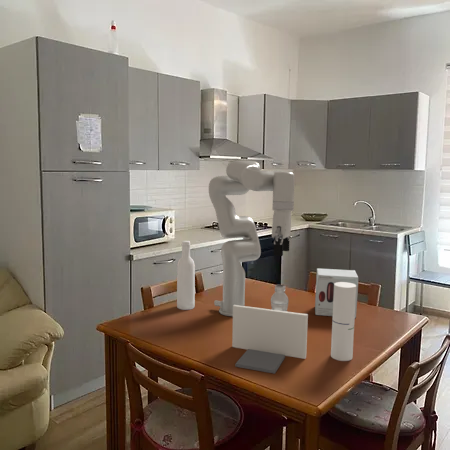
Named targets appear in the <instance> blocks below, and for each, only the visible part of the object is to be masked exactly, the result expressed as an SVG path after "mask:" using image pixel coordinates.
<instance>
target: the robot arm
mask: <svg viewBox="0 0 450 450" xmlns="http://www.w3.org/2000/svg"><path fill="white" fill-rule="evenodd" d="M225 168H226V169H225V171H226V172H225V173H226V175H218V176H215V177H213V178H211V180H210V181H209V183H208V195H209V199H210V201H211V203H212V206H213V208H214V211H215V214H216V219H217V220H216V221H217V224H218V228H219V229H218V230H219V232H220V235H221V236H222V238H224V239H232V240H228V241H226V242H224V243H223V244H222V245H221V247H220V255H221V260H222V300H216V299H215V300H214V303H213V304H214V306H215V307H219V309H218V313H220V315H223V316H226V317H233V306H234V305H240V306H246V305H245V302H246V301H245V300H246V299H245V298H246V297H245V295H246V294H245V293H246V290H245V289H246V271H245V269H244V267H243V265H242V264H241V263H244V262H245V263H246V262H252V261H257V260H258V259H259V258H260V256H261V253H262V250H261V249H262V247H261V244H260V239H259V236H258V232H257V231H258V230H257V228H256V224H255V222H254V219H252V218H251V217H250V216H248V215H237V213H236V208H235V206H234V204H233V202H232V201H231V200H230V199H229V198H228V197H227V196H243V195H246V194H247V193H249V191H253V192H272V209H271V210H272V211H273V214H272V215H273V216H272V224H271V225H272V226H271V238H272V239H273V256H276V257H283V255H284V252H289V251H290V243H291V242H290V236H291V232H292V212H293V211H294V210H295V209H294V208H295V206H294V205H295V204H294V201H295V173H293V172H292V171H281V170H261V166H260V164H259V163H258V162H257V161H255V160H233V161H230V162H229V163H228V165H226V167H225ZM239 238H240V239H239ZM241 238H242V239H241ZM233 239H234V240H233Z"/></svg>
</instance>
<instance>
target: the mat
mask: <svg viewBox="0 0 450 450" xmlns="http://www.w3.org/2000/svg"><path fill="white" fill-rule="evenodd" d="M285 359H286V356H285V355H283V354H276V353H270V352H264V351H258V350H252V349H246V351H245V352H244V353H243V354H242V355H241V357H239V359H238V360H237V361H236V363H235V364H234V365H235V368H241V369H247V370H253V371H259V372H264V373H270V374H276V372H277V371H278V370H279V368H280V366H281V365H282V363H283V362H284V360H285Z"/></svg>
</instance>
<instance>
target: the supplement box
mask: <svg viewBox="0 0 450 450" xmlns="http://www.w3.org/2000/svg"><path fill="white" fill-rule="evenodd" d="M315 276H316V280H315V281H316V283H315V302H314V312H315V316H325V317H327V316H328V317H333V297H334V283H337V282H348V283H353V284H355V285H356V300H355V319H356V318H357V306H358V294H359V293H358V291H359V275H358V274H357V272H356V270H355V269H341V268H340V269H335V268H334V269H333V268H320V267H319V268H316V275H315Z"/></svg>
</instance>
